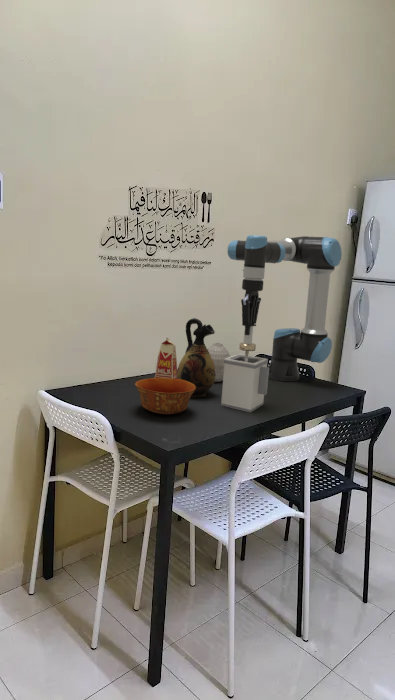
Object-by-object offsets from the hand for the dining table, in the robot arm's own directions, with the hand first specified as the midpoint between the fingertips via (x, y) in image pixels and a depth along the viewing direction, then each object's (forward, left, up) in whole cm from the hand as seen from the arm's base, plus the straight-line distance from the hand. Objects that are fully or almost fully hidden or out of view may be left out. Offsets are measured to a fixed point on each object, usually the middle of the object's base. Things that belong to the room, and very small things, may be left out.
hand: (247, 343), depth 191 cm
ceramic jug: (-1, -22, -24) cm, 33 cm away
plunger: (0, 0, -22) cm, 22 cm away
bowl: (+25, -19, -24) cm, 40 cm away
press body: (0, +1, -24) cm, 24 cm away
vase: (-26, -25, -24) cm, 43 cm away
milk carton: (-7, -39, -24) cm, 46 cm away
